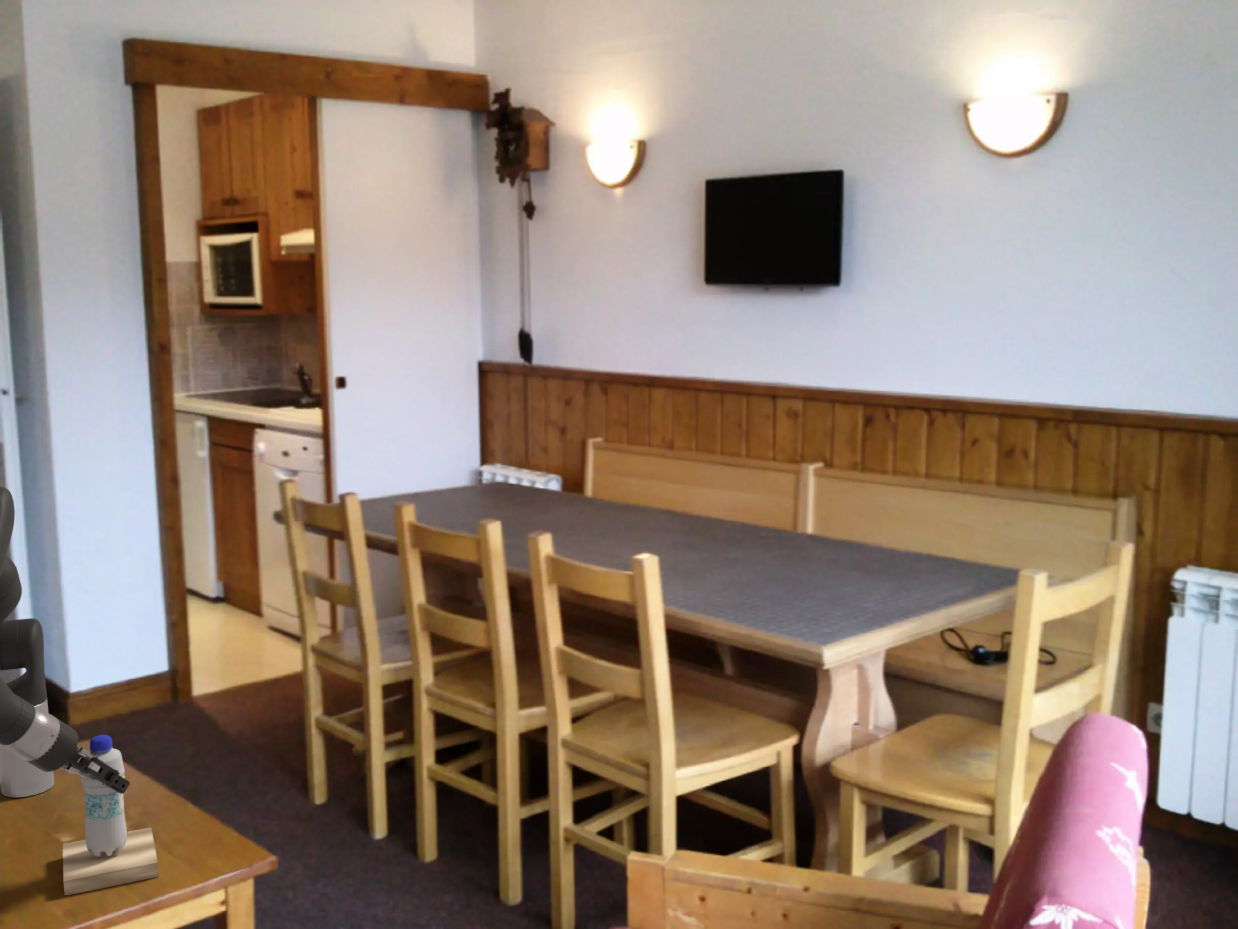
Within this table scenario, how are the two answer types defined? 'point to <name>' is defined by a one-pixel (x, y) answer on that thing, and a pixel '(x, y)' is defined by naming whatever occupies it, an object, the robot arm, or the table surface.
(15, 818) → the table surface
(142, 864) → the birch stand
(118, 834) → the bottle
